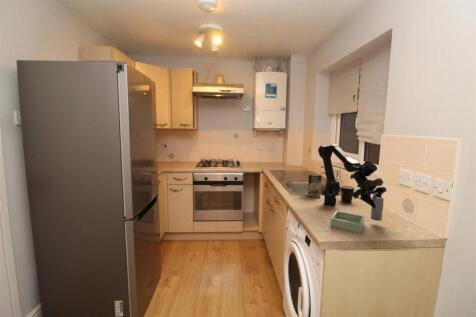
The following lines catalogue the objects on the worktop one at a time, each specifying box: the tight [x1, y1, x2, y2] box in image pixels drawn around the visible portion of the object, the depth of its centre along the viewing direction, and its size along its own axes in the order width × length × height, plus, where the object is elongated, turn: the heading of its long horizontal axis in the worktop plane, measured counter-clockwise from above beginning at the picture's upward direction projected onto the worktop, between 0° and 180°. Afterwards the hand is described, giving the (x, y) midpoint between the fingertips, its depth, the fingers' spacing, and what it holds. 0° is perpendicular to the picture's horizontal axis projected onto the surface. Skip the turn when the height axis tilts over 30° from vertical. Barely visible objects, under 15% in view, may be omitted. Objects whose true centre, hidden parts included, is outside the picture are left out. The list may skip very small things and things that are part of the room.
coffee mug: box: [340, 185, 355, 204], centre depth 160 cm, size 12×9×10 cm
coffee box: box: [306, 173, 323, 198], centre depth 170 cm, size 9×6×16 cm
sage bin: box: [330, 210, 365, 234], centre depth 118 cm, size 14×14×4 cm
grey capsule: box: [370, 196, 385, 222], centre depth 119 cm, size 5×5×11 cm
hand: (378, 207), depth 118 cm, fingers closed on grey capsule, 5 cm apart
